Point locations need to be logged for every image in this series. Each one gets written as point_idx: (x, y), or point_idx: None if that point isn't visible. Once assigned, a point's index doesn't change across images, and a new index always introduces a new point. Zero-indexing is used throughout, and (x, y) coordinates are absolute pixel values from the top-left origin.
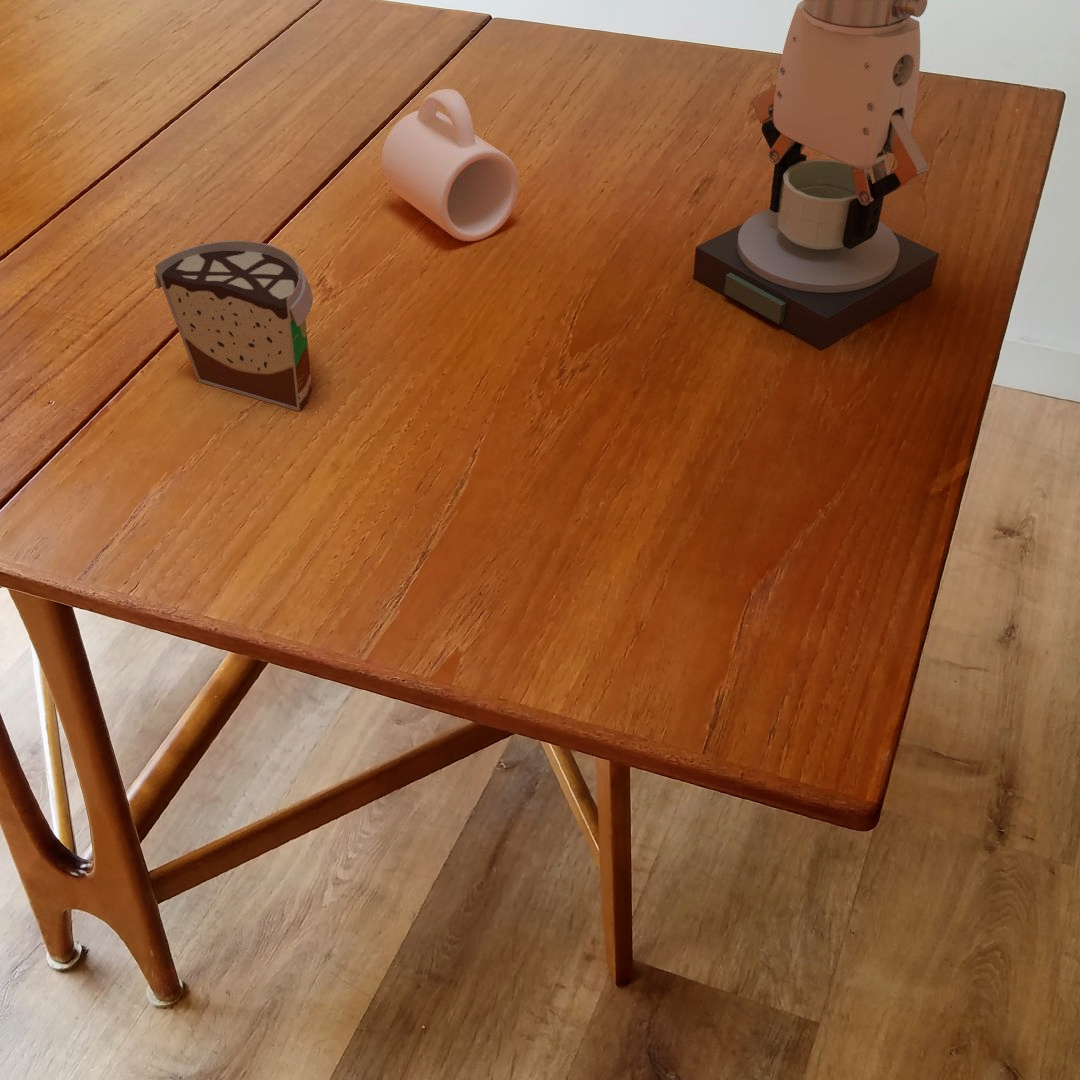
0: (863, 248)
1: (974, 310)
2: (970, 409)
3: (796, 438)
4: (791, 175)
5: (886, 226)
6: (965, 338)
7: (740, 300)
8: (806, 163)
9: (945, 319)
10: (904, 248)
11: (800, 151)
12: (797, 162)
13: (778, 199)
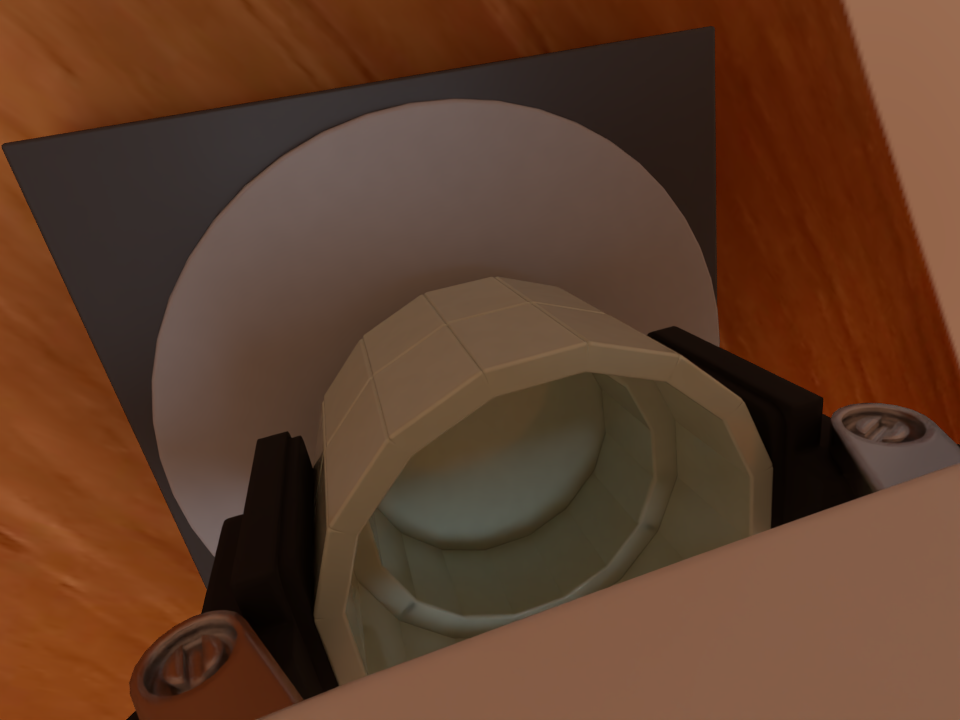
0: (590, 300)
1: (787, 40)
2: (943, 337)
3: None
4: (378, 663)
5: (528, 111)
6: (833, 168)
7: None
8: (347, 593)
9: (762, 150)
10: (622, 119)
11: (284, 662)
12: (312, 635)
13: None
